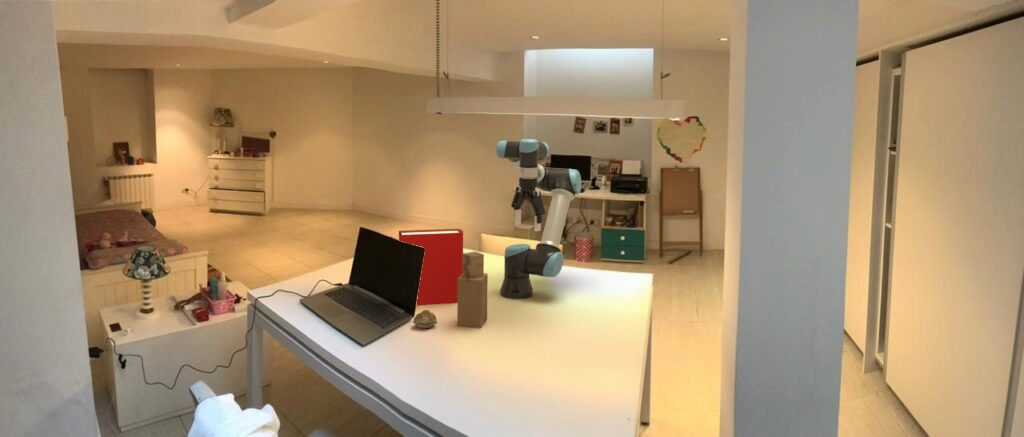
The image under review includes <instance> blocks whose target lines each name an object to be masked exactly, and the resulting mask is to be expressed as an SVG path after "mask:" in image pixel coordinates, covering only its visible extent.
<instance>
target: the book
mask: <svg viewBox="0 0 1024 437" xmlns="http://www.w3.org/2000/svg"><path fill="white" fill-rule="evenodd" d="M399 240H400V241H403V242H406V243H409V244H414V245H418V246H422V247H424V248H425V255H424V261H423V267H422V273H421V280H420V285H419V292H418V299H417V306H432V305H434V306H435V305H446V304H457V289H458V278H459V277H460V276H461V275H462V274H463V253H464V231H463V230H462V229H461V228H442V229H440V228H438V229H418V230H417V229H416V230H415V229H414V230H413V229H412V230H398V241H399ZM417 306H416V307H417Z"/></svg>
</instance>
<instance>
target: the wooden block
mask: <svg viewBox="0 0 1024 437" xmlns="http://www.w3.org/2000/svg"><path fill="white" fill-rule="evenodd" d="M488 276H489V275H488V273H486V272H484V276H483V277H478V278H473V279H470V278H468V277H466V276H463V274H462V275H461V276H460V277H459V278H458V289H457V303H456V304H457V305H456V307H457V310H456V312H457V314H456V315H457V316H456V317H457V321H456V322H457V326H458V327H467V328H478V329H479V328H480V329H481V328H483V326H484V325H485V323H486V321H487V320H488Z"/></svg>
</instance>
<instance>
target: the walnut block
mask: <svg viewBox="0 0 1024 437" xmlns="http://www.w3.org/2000/svg"><path fill="white" fill-rule="evenodd" d="M484 255H485V254H483V253H481V252H478V251H476V250H475V251H469V252H468V251H467V252H463V276H466V277H468V278H470V279H473V278H478V277H483V276H484V273H485V270H484V268H485V267H484V265H485V264H484V263H485V262H484V260H485V256H484Z"/></svg>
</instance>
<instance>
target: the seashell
mask: <svg viewBox="0 0 1024 437" xmlns="http://www.w3.org/2000/svg"><path fill="white" fill-rule="evenodd" d="M412 322H413V324H414V325H415V326H416V327H418V328H419V329H425V328H428V329H429V328H431V327H433V326H434V325H436V324H437V323H438V320H437V317H436V315H435V314H434V313H433V312H431V311H430V310H428V309H424V310H422V311H421V312H419V313H417V314H416V315H415V317H414V318H413V321H412Z"/></svg>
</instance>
